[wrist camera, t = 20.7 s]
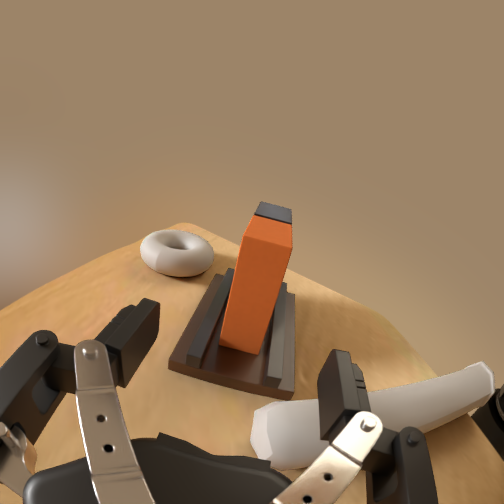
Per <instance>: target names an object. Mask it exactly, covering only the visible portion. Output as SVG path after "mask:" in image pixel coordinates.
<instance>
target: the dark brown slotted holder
mask: <svg viewBox="0 0 504 504" xmlns="http://www.w3.org/2000/svg"><path fill="white" fill-rule="evenodd" d="M254 215H255V216H259V217H263V218H267V219H271V220H275V221H279V222H282V223H286V224H290V225H292V211H291V209H288V208H284V207H280V206H277V205H273V204H269V203H265V202H260V204H259V206H258V208H257V210H256V212H255V214H254ZM234 272H235V269H231V268H228V270H227V272H226V274H225V276H223V275H220V274H216V275H215V276H214V278H213V280H212V282H211V284H210V285H209V287H208V289H207V291H206V292H205V294H204V296H203V298H202V300H201V301H200V303H199V305H198V307H197V309H196V310H195V312H194V314H193V316H192V318H191V319H190V321H189V323H188V325H187V327H186V328H185V330H184V332H183V334H182V336H181V338H180V339H179V341H178V343H177V345H176V347H175V349H174V350H173V352H172V354H171V356H170V358H169V363H168V369H170V370H173V371H176V372H179V373H182V374H185V375H188V376H191V377H194V378H198V379H201V380H204V381H208V382H211V383H215V384H218V385H222V386H226V387H229V388H233V389H237V390H241V391H245V392H249V393H254V394H258V395H263V396H267V397H272V398H277V399H282V400H287V401H290V399H291V397H292V395H293V394H294V378H295V294H292V293H288V292H287V283H285V282H282V284H281V288H280V291H279V294H278V297H277V300H276V303H275V306H274V310H273V313H272V316H271V319H270V322H269V325H268V328H267V331H266V334H265V337H264V340H263V343H262V346H261V349H260V352H259V354H258V355H256V354H252V353H248V352H244V351H240V350H236V349H232V348H229V347H225V346H221V345H219V340H220V335H221V331H222V326H223V321H224V317H225V312H226V308H227V303H228V299H229V294H230V290H231V285H232V281H233V277H234Z"/></svg>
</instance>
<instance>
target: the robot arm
mask: <svg viewBox="0 0 504 504" xmlns="http://www.w3.org/2000/svg"><path fill="white" fill-rule="evenodd" d="M159 318H160V303H159V302H156V301H153V300H150V299H147V298H143V299H142V300H141V302H140V303H139V304H138V305H137V306H134V305H129V306H127V307H125V308H123V309H122V310H121V311H120V312H119V313H118V314H117V315H116V317H114V318H113V319H112V321H111V322H110V323H109V324H108V325H107V326H106V327H105V328H104V329H103V330H102V331H101V332H100V334H99V335H98V336H97V337H96V338H95V339H94V340H84V341H82V342H80V343H78V344H77V345H76V346H72V345H67V344H62V343H58V339H57V336H56V335H55V334H54V333H53V332H51V331H48V330H40V331H37V332H34V333H33V334H32V335H31V336H30V337H29V338H28V339H27V340H26V341H25V342H24V343H23V344H22V345H21V346H20V347H19V348H18V349H17V350H16V351H15V352H14V353H13V355H12V356H11V357H10V358H9V359H8V360H7V361H6V362H5V363H4V364H3V366H2V367H1V368H0V483H1V484H5V485H6V486H7V487H8V488H10V489H11V490H12V491H14V492H15V493H16V494H18V495H19V496H20V497H22V498H23V504H334V502H335V501H336V500H337V499H338V498H339V496H340V495H341V494H342V493H343V492H344V490H345V489H346V488H347V486H348V485H349V484H350V483H351V481H352V480H353V479H354V477H355V476H356V475H357V473H358V472H359V471H360V469H361V470H364V471H366V491H367V504H438V498H437V491H436V486H435V480H434V475H433V470H432V465H431V460H430V456H429V451H428V447H427V443H426V439H425V436H424V434H423V433H422V432H421V431H420V430H419V429H417V428H415V427H412V426H408V427H405V428H403V429H402V430H401V431H400V432H396V431H393V430H390V429H387V428H385V427H383V424H382V421H381V420H380V418H379V417H378V416H376V415H375V414H373V413H372V412H371V408H370V403H369V399H368V394H367V390H366V386H365V382H364V377H363V373H362V371H361V370H360V368H359V367H358V366H357V364H353V363H352V362H351V357H350V353H349V352H347V351H341V350H336V349H333V350H332V351H331V352H330V354H329V356H328V358H327V360H326V362H325V364H324V366H323V368H322V369H321V371H320V374H319V377H318V382H317V387H318V404H319V424H320V440H324V441H329V446H328V447H327V448H326V449H325V451H324V452H323V453H322V454H321V455H320V456H319V457H318V458H317V459H316V460H315V461H314V462H313V463H312V464H311V465H310V466H309V467H308V468H307V469H306V470H305V471H304V472H303V473H302V474H301V475H300V476H299V477H298V478H297V479H296V480H295V481H294V482H292V481H291V480H290V479H288V478H287V477H286V476H285V475H283V474H281V473H280V472H278V471H276V470H274V469H272V468H270V465H271V461H269V460H263V459H257V458H252V457H246V456H218V455H212V454H210V453H208V452H206V451H204V450H202V449H200V448H198V447H196V446H194V445H192V444H191V443H189V442H187V441H184V440H181V439H178V438H175V437H172V436H169V435H166V434H163V433H161V432H160V433H159V435H158V437H157V439H156V438H137V439H132V440H130V437H129V434H128V431H127V428H126V425H125V421H124V418H123V414H122V411H121V407H120V403H119V399H118V395H117V392H116V386H117V385H118V386H120V387H123V388H126V386H127V385H128V383H129V381H130V380H131V378H132V377H133V375H134V373H135V372H136V370H137V369H138V367H139V365H140V364H141V362H142V361H143V359H144V358H145V356H146V355H147V353H148V351H149V350H150V348H151V347H152V345H153V344H154V342H155V340H156V338H157V335H158V331H159ZM66 393H72V394H76V402H77V409H78V416H79V422H80V427H81V433H82V438H83V443H84V448H85V452H86V457H84V458H81V459H78V460H75V461H72V462H69V463H66V464H63V465H59V466H56V467H53V468H49V469H46V470H42V471H39V472H37V473H35V464H36V461H37V453H36V450H35V448H34V444H35V442H36V441H37V439H38V437H39V436H40V434H41V432H42V431H43V429H44V427H45V426H46V424H47V423H48V421H49V419H50V418H51V416H52V415H53V413H54V412H55V410H56V409H57V407H58V405H59V404H60V402H61V401H62V399H63V398H64V396H65V395H66ZM494 408H495V412H496V414H497V416H498V418H499V420H500V421H501V423H502V424H503V425H504V384H503V385H502V387H501V390H500V391H499V393H498V394H497V395H496V396H495V398H494Z"/></svg>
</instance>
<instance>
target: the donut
mask: <svg viewBox="0 0 504 504" xmlns="http://www.w3.org/2000/svg"><path fill="white" fill-rule="evenodd" d="M140 252H141V256H142V259H143V261H144V262H145V263H146V264H147V265H148V266H149V267H150V268H152V269H153V270H155V271H157V272H159V273H162V274H165V275H169V276H176V277H190V276H195V275H199V274H201V273H202V272H204V271H206V270H208V268H209V267H210V266H211V264H212V263H213V261H214V251H213V248H212V247H211V245H210V244H209V243H208V241H206V240H205V239H203V238H202V237H200V236H198V235H196V234H193V233H190V232H186V231H180V230H161V231H157V232H153V233H151V234H150V235H148V236H147V237H145V239H144V240H143V242H142V244H141V247H140Z"/></svg>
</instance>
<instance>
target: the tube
mask: <svg viewBox="0 0 504 504" xmlns="http://www.w3.org/2000/svg"><path fill="white" fill-rule="evenodd" d="M494 393H495V380H494V372H493V371H492V370H491V369H490V368H489V367H488V366H487V365H486V363H485V362H484V361H481V362H478V363H475V364H472V365H469V366H467V367H466V368H465V369H463V370H460V371H457V372H453V373H451V374H447V375H443V376H440V377H436V378H432V379H429V380H425V381H421V382H416V383H412V384H408V385H403V386H399V387H394V388H389V389H384V390H378V391H372V392H367V394H368V399H369V403H370V408H371V412H372V413H373V414H375V415H376V416H378V417H379V418H380V420H381V421H382V424H383V427H385V428H387V429H390V430H393V431H396V432H400V431H401V430H402V429H403V428H405V427H408V426H412V427H415V428H417V429H419V430H420V431H421V432H422V433H423V434H424V433H426V432H428V431H431V430H433V429H435V428H437V427H440V426H442V425H444V424H446V423H448V422H450V421H452V420H454V419H456V418H458V417H460V416H462V415H464V414H466V413H468V412H469V411H471V410H473V409H475V408H478V407H482V406H484V405H485V404H486V402H487V401H488V400H489V399H490V398H491V396H492V395H493V394H494ZM250 443H251V444H252V446H253V448H254V450H255V452H256V454H257V456H258V458H259V459H263V460H269V461H271V465H270V467H272V468H275V469H279V470H282V471H284V470H292V469H299V468H305V467H309V466H310V465H311V464H312V463H313V462H314V461H315V460H316V459H317V458H318V457H319V456H320V455H321V454H322V453H323V452H324V451H325V449H326V448H327V447H328V446H329V441H324V440H320V424H319V404H318V399H309V400H295V401H276V402H272V403H270V404H268V405H266V406H264V407H262V408H259V409H257V410H255V413H254V419H253V426H252V432H251V438H250Z"/></svg>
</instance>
